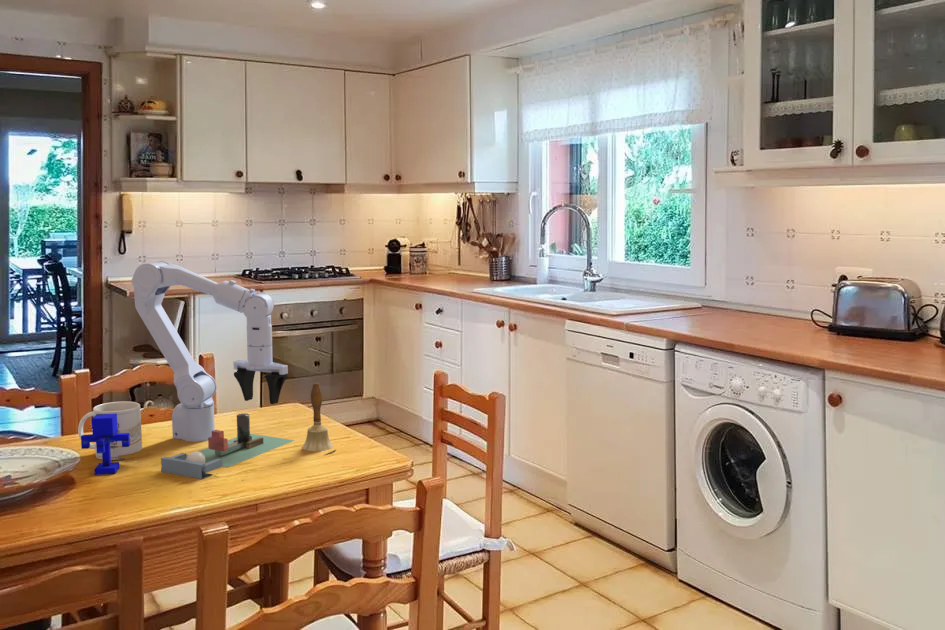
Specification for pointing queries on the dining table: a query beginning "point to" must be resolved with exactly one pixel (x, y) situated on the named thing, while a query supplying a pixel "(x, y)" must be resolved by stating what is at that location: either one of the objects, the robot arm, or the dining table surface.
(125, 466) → the dining table surface
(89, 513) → the dining table surface
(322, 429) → the hand bell
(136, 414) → the mug
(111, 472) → the figurine
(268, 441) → the mat
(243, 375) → the robot arm
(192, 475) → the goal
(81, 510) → the dining table surface
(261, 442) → the rail guides
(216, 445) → the kicker rod
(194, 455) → the ball
